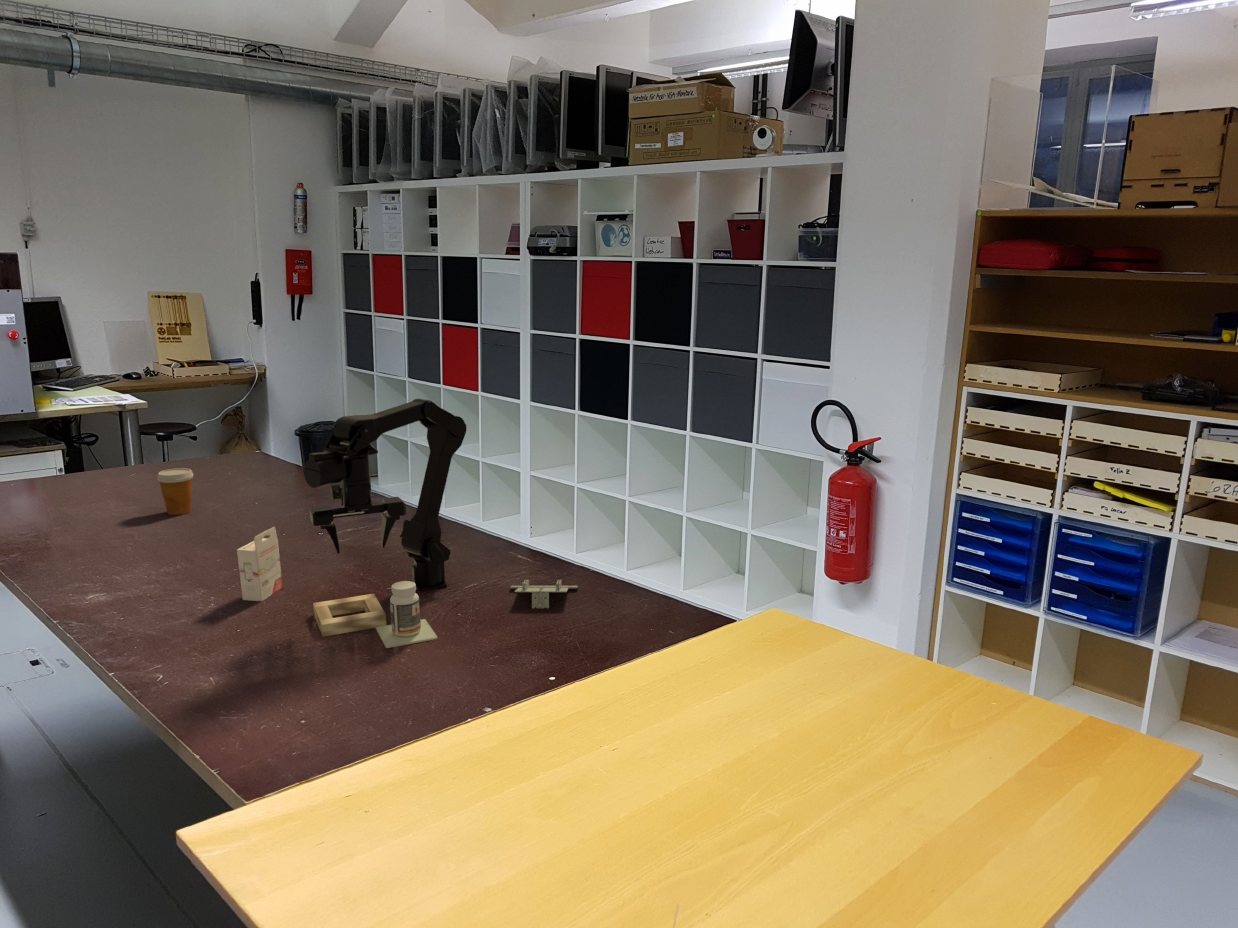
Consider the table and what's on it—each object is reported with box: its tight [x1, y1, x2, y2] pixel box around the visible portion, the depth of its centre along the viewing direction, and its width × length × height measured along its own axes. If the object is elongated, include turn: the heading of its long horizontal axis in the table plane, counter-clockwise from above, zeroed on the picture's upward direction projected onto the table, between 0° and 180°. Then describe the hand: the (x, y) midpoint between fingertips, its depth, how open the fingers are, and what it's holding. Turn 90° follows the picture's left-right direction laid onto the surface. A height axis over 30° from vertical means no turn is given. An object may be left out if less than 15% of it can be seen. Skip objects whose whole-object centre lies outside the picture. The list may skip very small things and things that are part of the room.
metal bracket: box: [509, 579, 579, 609], centre depth 204 cm, size 14×6×15 cm
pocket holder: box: [312, 593, 387, 637], centre depth 191 cm, size 12×12×2 cm
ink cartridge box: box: [236, 526, 283, 602], centre depth 204 cm, size 9×5×15 cm, turn 168°
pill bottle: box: [389, 580, 421, 637], centre depth 184 cm, size 6×6×10 cm
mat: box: [375, 618, 438, 649], centre depth 185 cm, size 10×10×1 cm
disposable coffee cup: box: [156, 467, 194, 516], centre depth 266 cm, size 10×10×12 cm
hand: (360, 550), depth 195 cm, fingers open, 9 cm apart
